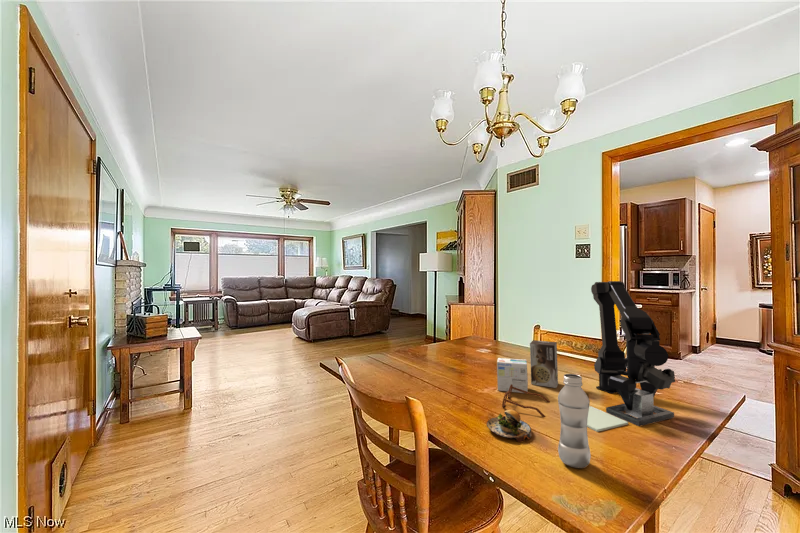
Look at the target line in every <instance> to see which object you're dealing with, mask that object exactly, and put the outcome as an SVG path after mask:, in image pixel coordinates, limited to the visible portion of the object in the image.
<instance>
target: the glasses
mask: <svg viewBox="0 0 800 533" xmlns="http://www.w3.org/2000/svg"><path fill="white" fill-rule="evenodd" d="M510 389H511V391H510ZM512 389H515V390H518V391H521V392H523V393H522V394H527V395H529V396H537V397H540V398H542V399H543V400H544V401H545V402H546V403H551V401H550V400H549V399H547V397H546V396H544V395H543V394H539V393H535V392H529V391H528V392H527V391H524V390H521V389H518V388H515V387H513V385H512V384H511V385H510V388H509V391H505V393H504V396H503V398H502V405H501V407H502V408H504V407H505V406H506V403H509V404H512V405H514V406H516V407H519V408H523V409H532V410H535V411H536V412H537V413H538V414H539V415H540V416H542V417H544V418H545V417H546V415H545V414H544V413H543V412H542V411H541V410H540V409H539V408H538V407H534V406H531V405H524V404H520V403H517V402H515V401H512V400H509V399H510V398H511V395H512V393H513V392H512ZM516 404H517V405H516Z"/></svg>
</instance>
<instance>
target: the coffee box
mask: <svg viewBox="0 0 800 533" xmlns="http://www.w3.org/2000/svg"><path fill="white" fill-rule="evenodd" d="M557 346H558V342H556V341H546V340H534V339H532V341H531V342H530V343H529V350H530V351H529V352H530V353H529V356H530V357H529V358H530V359H529V360H530V384H531V385H532V384H533V386H540V387H547V388H554V389H557V388H558V385H559V372H558V347H557Z"/></svg>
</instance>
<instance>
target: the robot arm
mask: <svg viewBox="0 0 800 533" xmlns="http://www.w3.org/2000/svg"><path fill="white" fill-rule="evenodd" d="M625 287H626V286H625V283H624V281H620V280H613V281H612V280H610V281H609V280H608V281H596V282H595V281H594V284H592V285H591V287H590V290H591V291H590V292H591V294H592V295H593V296H592V297H593V301H595V303H596V304H597V305H598V306H599V307H598V308H599V319H600V329H601V331H600V332H601V343H602V345H601V347H600V348H599V350H598V351H597V352H598V353H597V356H598V357H597V358H596V360H595V362H594V364H593V366H594V371H595V373H597V374H598V382H599V383H598V386H595V388H596V389H598V390H601V391H604V392H606V393H609V394H619V396H620V398H621V400H622V401H623V404H624V403H625V405H626V407H627V409H628V410H630V411H632V409H633V398H634V394H635V393H636V392H638V390H635V388H637V384H639V386H640V389H641V390H644V391H647V392H650V393H653V399H654V398H655V396H656V393H657V391H658V390H662V391H663V390H664V389H670V387H671V385H672V383H676V378H675V377H676V376H675V371H674V370H673V369H671V368H665V369H663V370H662V368H657V367H659V366H663V365H664V364H666V363H667V361H668V360H669V353H668V351H667V350H666V348H664V347H663V346H661V345H660V341H661V337H660V336H661V334H660V332H659V330H658V328H657V326H656V324H655V322H654V321H653V319H652V317H650V315H649V314H648V313H647V312H646V311H644V310H642V309H641V308H639V307H638V306H637V305H636V303H635V302H634V300H633V299H632V297H631V296H630V295H631V294H629V293H628V290H627V289H626V288H625ZM615 306H616V308H617V311H618V312H619V314H620V316H621V318H620V322H619V323H620V327H621V329H622V331H623V334H624V339H625V343H626V346H625V347H626V350H625V351H626V353H625V352H624V351H623V350H622V349H621V348H620V346H619V344H618V334H617V332H618V331H617V322H616V321H617V320H616V313H615Z"/></svg>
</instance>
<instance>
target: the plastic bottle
mask: <svg viewBox="0 0 800 533" xmlns="http://www.w3.org/2000/svg"><path fill="white" fill-rule="evenodd" d="M562 384H564V385H563V387H562V388H561V389H560V391H559V392H558V395H557V403H558V409H559V418H560V434H559V440H558V446H557V452H558V457H559V459H560V461H561V462H562V463H563V464H564V465H567V466H568V467H571V468H574V469H584V468H587V466H589V464H590V462H591V457H592V455H591V450H590V444H589V438H588V437H589V434H588V427H587V421H588V412H589V406H591V405H590V403H591V401H590V399H589V396H588V394H587V393H586V392H585V390H584V389H583V378H582V376H581V375H580V374H575V373H565V374H563V383H562Z"/></svg>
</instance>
